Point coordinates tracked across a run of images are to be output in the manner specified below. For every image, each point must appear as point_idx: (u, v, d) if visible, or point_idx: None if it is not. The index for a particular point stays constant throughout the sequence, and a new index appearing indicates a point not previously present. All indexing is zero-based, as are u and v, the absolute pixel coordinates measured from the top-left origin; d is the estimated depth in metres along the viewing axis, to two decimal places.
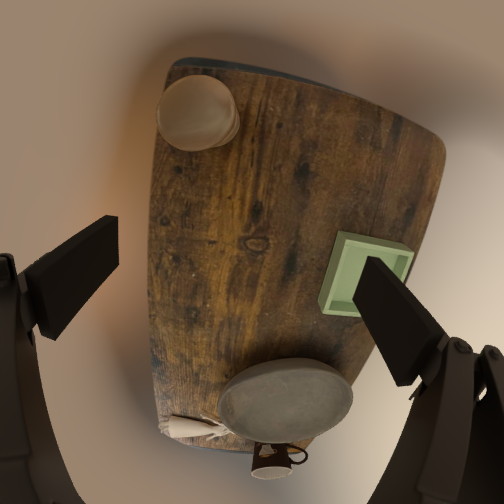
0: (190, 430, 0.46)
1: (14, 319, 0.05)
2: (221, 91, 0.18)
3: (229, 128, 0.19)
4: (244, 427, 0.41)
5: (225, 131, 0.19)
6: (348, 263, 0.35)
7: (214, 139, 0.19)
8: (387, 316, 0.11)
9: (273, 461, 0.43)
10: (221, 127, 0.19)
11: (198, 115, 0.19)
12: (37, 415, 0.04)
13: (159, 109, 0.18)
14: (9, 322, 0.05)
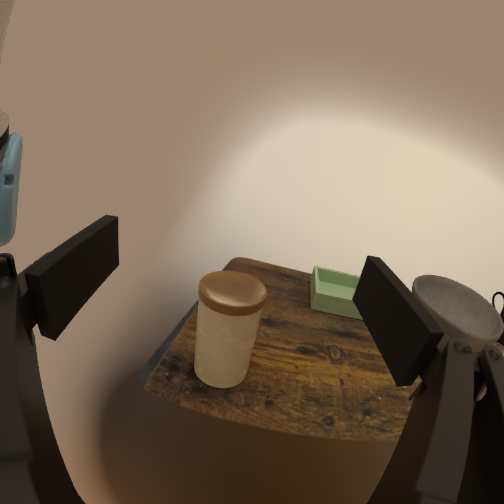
0: None
1: (14, 319, 0.05)
2: (219, 273, 0.27)
3: (249, 276, 0.27)
4: (495, 329, 0.32)
5: (251, 277, 0.27)
6: None
7: (257, 282, 0.26)
8: (387, 317, 0.11)
9: None
10: (248, 278, 0.27)
11: (236, 285, 0.25)
12: (37, 415, 0.04)
13: (224, 302, 0.22)
14: (9, 322, 0.05)
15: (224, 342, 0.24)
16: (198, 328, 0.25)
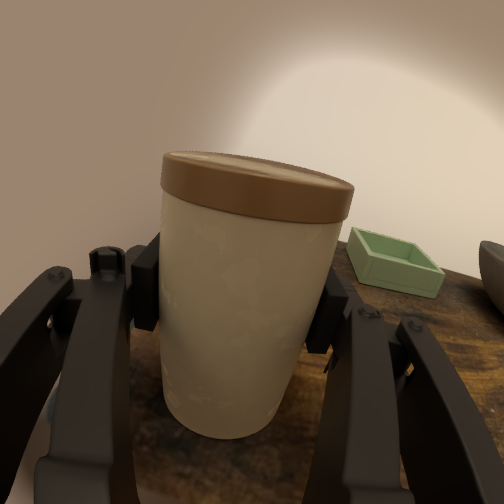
0: None
1: (117, 317, 0.06)
2: None
3: (292, 165, 0.11)
4: None
5: None
6: None
7: (316, 172, 0.10)
8: None
9: None
10: (291, 165, 0.11)
11: (268, 164, 0.09)
12: (122, 418, 0.05)
13: (241, 169, 0.06)
14: (111, 319, 0.06)
15: (237, 326, 0.07)
16: (160, 289, 0.09)
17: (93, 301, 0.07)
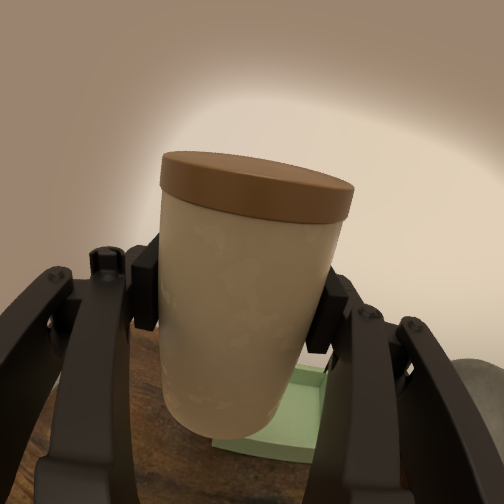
0: None
1: (117, 317, 0.06)
2: None
3: (291, 165, 0.11)
4: None
5: None
6: (259, 432, 0.21)
7: (316, 172, 0.10)
8: None
9: None
10: (291, 165, 0.11)
11: (268, 164, 0.09)
12: (122, 418, 0.05)
13: (240, 169, 0.06)
14: (111, 319, 0.06)
15: (236, 326, 0.07)
16: (159, 290, 0.09)
17: (93, 301, 0.07)
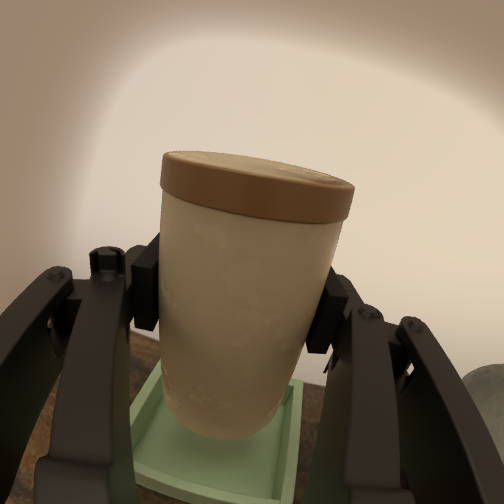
0: None
1: (117, 317, 0.06)
2: None
3: (292, 165, 0.11)
4: None
5: (298, 166, 0.11)
6: (182, 464, 0.13)
7: (316, 172, 0.10)
8: None
9: None
10: (292, 165, 0.11)
11: (268, 164, 0.09)
12: (122, 418, 0.05)
13: (241, 169, 0.06)
14: (111, 319, 0.06)
15: (237, 326, 0.07)
16: (160, 289, 0.09)
17: (93, 301, 0.07)
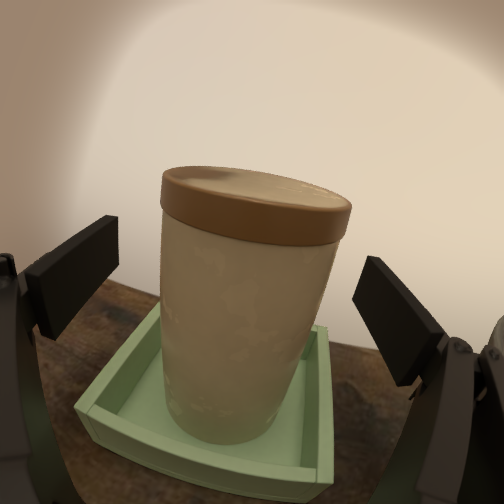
0: None
1: (14, 319, 0.05)
2: (220, 167, 0.11)
3: (290, 179, 0.11)
4: None
5: (297, 180, 0.11)
6: (181, 430, 0.11)
7: (314, 186, 0.10)
8: (387, 316, 0.11)
9: None
10: (290, 179, 0.11)
11: (267, 181, 0.09)
12: (37, 415, 0.04)
13: (239, 194, 0.06)
14: (9, 322, 0.05)
15: (236, 342, 0.08)
16: (161, 304, 0.09)
17: None
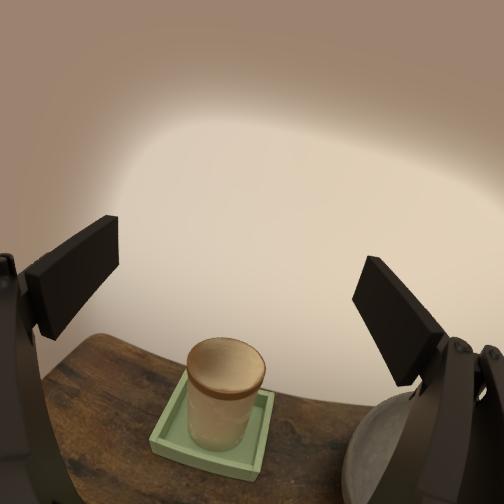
0: None
1: (14, 319, 0.05)
2: (210, 342, 0.22)
3: (245, 343, 0.23)
4: None
5: (248, 346, 0.22)
6: (196, 445, 0.22)
7: (255, 353, 0.22)
8: (387, 317, 0.11)
9: None
10: (244, 348, 0.22)
11: (230, 360, 0.20)
12: (37, 415, 0.04)
13: (216, 388, 0.18)
14: (9, 322, 0.05)
15: (218, 420, 0.19)
16: (189, 401, 0.20)
17: None
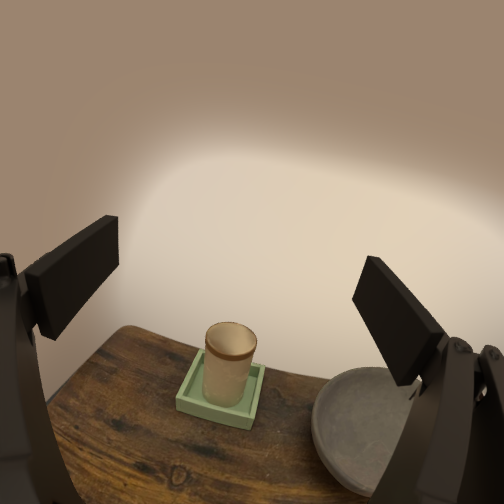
0: None
1: (14, 319, 0.05)
2: (220, 325, 0.34)
3: (244, 326, 0.34)
4: None
5: (245, 327, 0.34)
6: (208, 403, 0.34)
7: (250, 332, 0.33)
8: (387, 316, 0.11)
9: None
10: (243, 328, 0.34)
11: (234, 336, 0.32)
12: (37, 415, 0.04)
13: (225, 352, 0.29)
14: (9, 322, 0.05)
15: (226, 377, 0.31)
16: (205, 366, 0.32)
17: None
